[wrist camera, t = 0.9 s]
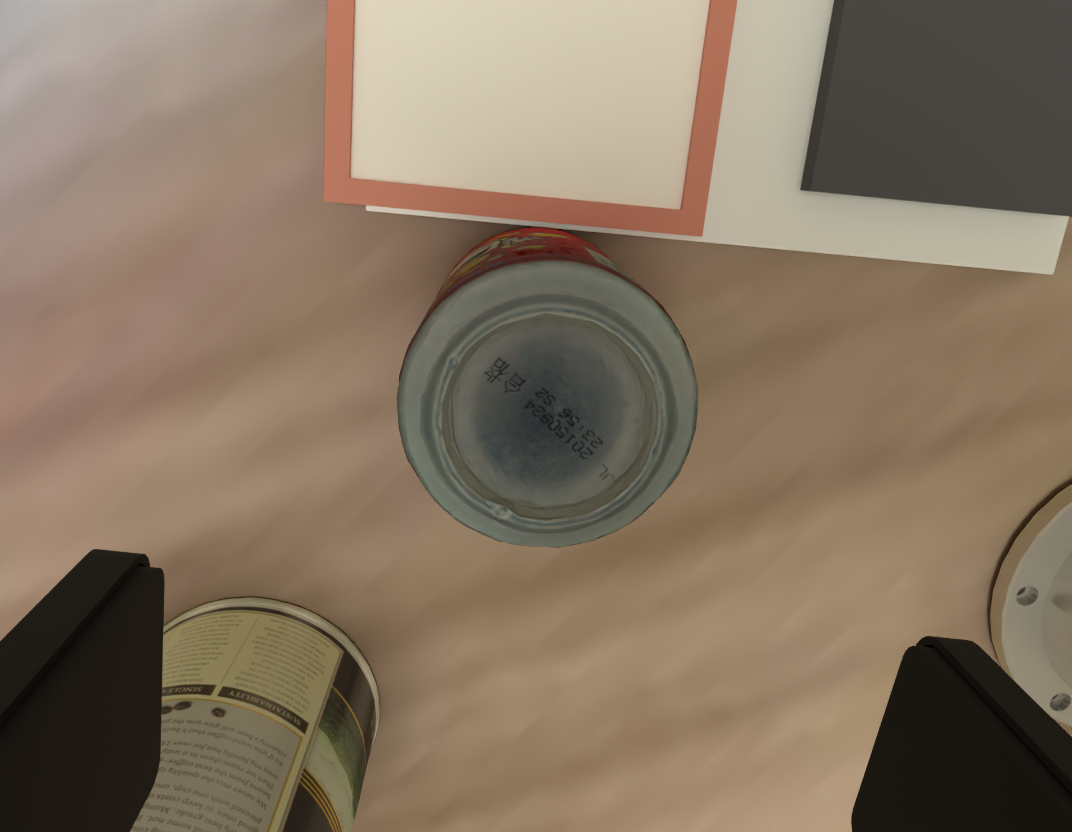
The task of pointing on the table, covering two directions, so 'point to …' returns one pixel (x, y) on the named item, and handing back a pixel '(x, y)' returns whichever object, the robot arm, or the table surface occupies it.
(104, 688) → the robot arm
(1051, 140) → the ink pad
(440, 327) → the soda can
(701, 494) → the table surface
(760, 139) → the board
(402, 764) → the table surface
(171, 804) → the coffee can
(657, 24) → the red bordered square panel
